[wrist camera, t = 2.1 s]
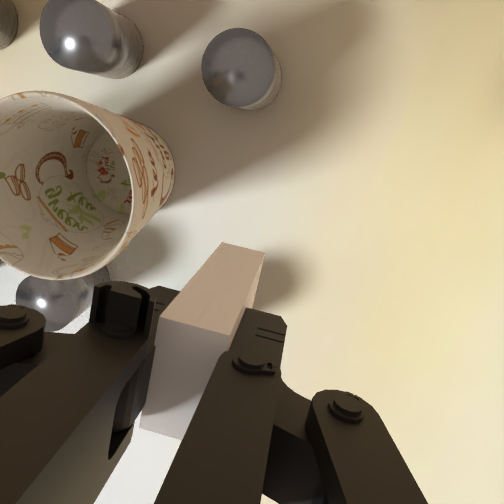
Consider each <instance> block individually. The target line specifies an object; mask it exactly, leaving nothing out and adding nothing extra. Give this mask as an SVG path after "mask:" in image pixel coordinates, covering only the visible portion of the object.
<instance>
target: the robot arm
mask: <svg viewBox="0 0 504 504" xmlns="http://www.w3.org/2000/svg"><path fill="white" fill-rule="evenodd" d="M264 257H265V253H263V252H259V251H255V250H251V249H247V248H243V247H239V246H235V245H231V244H227V243H223V242H222V243H221V244H220V246H219V247H218V248H217V249H216V250H215V251H214V253H213V254H212V255H211V256H210V257H209V258H208V260H207V261H206V262H205V263H204V264H203V266H202V267H201V268H200V269H199V270H198V271H197V273H196V274H195V275H194V276H193V277H192V279H191V280H190V281H189V282H188V283H187V284H186V286H185V287H184V288H183V289H182V290H181V291H177V290H173V289H169V288H165V287H162V286H157V287H153V288H150V289H148V288H146V287H143V286H141V285H138V284H134V283H128V282H117V281H111V282H104V283H100V284H98V285H95V286H94V289H93V297H92V304H91V311H90V319H89V322H88V323H87V324H86V325H85V326H84V327H82V328H81V329H80V330H79V331H78V332H77V333H75V334H65V333H54V332H45V328H46V319H45V317H44V315H43V314H42V313H40V312H38V311H37V310H35V309H31V308H28V307H26V306H22V305H19V306H17V305H12V304H11V305H7V306H0V504H94V502H95V500H96V499H97V497H98V495H99V494H100V492H101V490H102V489H103V487H104V485H105V484H106V482H107V480H108V478H109V477H110V475H111V473H112V472H113V470H114V468H115V467H116V465H117V463H118V462H119V460H120V458H121V457H122V455H123V453H124V452H125V450H126V448H127V447H128V445H129V443H130V441H131V437H132V433H133V428H134V422H135V419H136V418H137V416H138V415H139V413H140V412H141V410H142V414H141V420H140V425H139V428H142V429H145V430H149V431H152V432H156V433H159V434H163V435H166V436H170V437H173V438H177V439H180V440H182V442H181V444H180V446H179V448H178V451H177V453H176V455H175V457H174V460H173V462H172V464H171V466H170V469H169V471H168V473H167V475H166V478H165V480H164V482H163V484H162V487H161V489H160V491H159V493H158V496H157V498H156V500H155V502H154V504H260V501H261V495H262V494H264V495H265V496H267V497H269V498H271V499H272V500H274V501H276V502H277V503H279V504H428V503H427V501H426V499H425V497H424V495H423V494H422V492H421V490H420V488H419V486H418V485H417V483H416V481H415V479H414V477H413V476H412V474H411V472H410V470H409V468H408V466H407V465H406V463H405V461H404V459H403V457H402V456H401V454H400V452H399V450H398V448H397V447H396V445H395V443H394V441H393V439H392V438H391V436H390V434H389V432H388V430H387V429H386V427H385V425H384V423H383V421H382V419H381V418H380V416H379V414H378V413H377V412H376V411H375V409H374V408H373V407H372V406H371V405H370V404H368V403H367V402H365V401H364V400H363V399H362V398H360V397H358V396H356V395H353V394H352V393H349V392H343V391H339V390H323V391H320V392H317V393H316V394H315V395H314V397H313V398H312V401H311V400H308V399H306V398H304V397H302V396H301V395H299V394H297V393H295V392H294V391H293V390H291V389H290V388H289V387H287V385H286V384H285V383H284V382H283V381H282V379H281V370H280V365H281V359H282V353H283V347H284V341H285V335H286V329H287V325H286V324H285V322H284V320H283V319H282V317H281V316H277V315H273V314H270V313H266V312H262V311H258V310H254V309H252V307H253V303H254V298H255V294H256V290H257V286H258V282H259V278H260V273H261V269H262V265H263V261H264ZM142 408H143V409H142Z"/></svg>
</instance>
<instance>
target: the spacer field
mask: <svg viewBox="0 0 504 504" xmlns="http://www.w3.org/2000/svg"><path fill="white" fill-rule="evenodd" d="M17 28H18V16H17V12H16V9H15V6H14V4H13V3H12V1H11V0H0V50H1V49H3V48H5V47H7V46H8V45H9V44H10V43H11V42H12V41H13V39H14V38H15V35H16V33H17ZM40 36H41V40H42V43H43V46H44V48H45V50H46V51H47V53H48V54H49V56H50V57H51V58H52V59H53V60H54V61H55V62H57V63H58V64H60V65H61V66H63V67H66V68H69V69H73V70H77V71H81V72H86V73H90V74H94V75H99V76H103V77H107V78H112V79H121V78H125V77H127V76H129V75H130V74H132V73H133V72H134V71H135V70H136V69H137V67H138V66H139V64H140V62H141V59H142V56H143V41H142V37H141V35H140V32H139V30H138V29H137V27H136V26H135V25H134V24H133V23H132V22H131V21H130V20H129V19H127V18H125V17H124V16H122V15H120V14H118V13H117V12H115V11H113V10H111V9H110V8H108V7H106V6H104V5H103V4H101V3H99V2H97V1H96V0H50V1H49V2H48V3H47V5H46V6H45V8H44V10H43V12H42V15H41V19H40ZM202 76H203V80H204V83H205V85H206V87H207V89H208V91H209V92H210V93H211V95H212V96H213V97H214V98H216V99H217V100H218V101H220V102H221V103H223V104H226V105H229V106H232V107H237V108H241V109H245V110H257V109H261V108H263V107H265V106H267V105H268V104H270V103H271V102H272V101H273V100H274V99H275V97H276V96H277V94H278V92H279V90H280V87H281V82H282V72H281V68H280V65H279V63H278V61H277V59H276V57H275V56H274V54H273V52H272V51H271V49H270V47H269V46H268V44H267V43H266V41H265V40H264V39H263V38H262V37H261V36H259V35H258V34H256V33H255V32H253V31H251V30H247V29H243V28H234V29H229V30H226V31H224V32H222V33H220V34H219V35H217V36H216V37H215V38H214V39H213V40H212V41H211V42H210V43H209V45H208V46H207V48H206V50H205V53H204V55H203V59H202ZM104 282H109V274H108V271H107V269H106V267H105V266H104V267H102V268H100V269H99V270H97V271H95V272H93V273H91V274H88V275H85V276H82V277H78V278H74V279H68V280H50V279H42V278H38V277H34V276H29V277H27V278H25V279H24V280H23V281H22V282H21V283H20V285H19V286H18V288H17V292H16V305H17V306H19V305H22V306H26V307H28V308H31V309H35V310H37V311H38V312H40V313H42V314H43V315H44V317H45V319H46V328H45V331H46V332H53V331H57V330H60V329H62V328H63V327H65V326H66V325H67V324H69V323H70V322H71V321H73V320H74V319H75V318H76V317H78V316H79V315H80V314H81V313H83V312H84V311H85V310H86V309H88V308H89V307H90V306H91V304H92V297H93V289H94V286H95V285H98V284H100V283H104Z"/></svg>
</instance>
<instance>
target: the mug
mask: <svg viewBox="0 0 504 504" xmlns="http://www.w3.org/2000/svg"><path fill="white" fill-rule="evenodd" d="M174 179H175V167H174V162H173V158H172V155H171V153H170V150H169V149H168V147H167V145H166V144H165V142H164V141H163V140H162V139H161V137H160V136H159V135H158V134H156V133H155V132H154V131H153V130H151V129H150V128H148V127H146V126H144V125H142V124H140V123H137V122H135V121H132V120H130V119H127V118H125V117H122V116H120V115H117V114H114V113H112V112H109V111H107V110H104V109H102V108H99V107H97V106H94V105H92V104H89V103H87V102H84V101H82V100H79V99H76V98H74V97H71V96H67V95H64V94H60V93H55V92H48V91H26V92H21V93H16V94H12V95H10V96H7V97H4V98H2V99H0V259H1V260H2V261H4V262H5V263H7V264H8V265H10V266H11V267H13V268H15V269H17V270H19V271H21V272H23V273H25V274H28V275H31V276H34V277H38V278H42V279H50V280H68V279H74V278H78V277H82V276H85V275H88V274H91V273H93V272H95V271H97V270H99V269H100V268H102V267H104V266H105V265H107V264H108V263H109V262H110V261H112V260H113V259H114V258H115V257H116V256H117V255H118V254H119V253H120V252H121V251H122V250H123V249H124V248H125V247H126V246H127V245H128V244H129V242H130V241H131V240H132V239H133V238H134V237H135V236H136V235H137V233H138V232H139V231H140V230H141V229H142V228H143V227H144V226H145V225H146V223H147V222H148V221H149V220H150V219H151V218H152V217H153V216H154V214H155V213H156V212H157V211H158V210H159V209H160V208H161V207H162V205H163V204H164V203H165V202H166V200H167V199H168V197H169V195H170V193H171V191H172V188H173V185H174Z"/></svg>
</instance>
